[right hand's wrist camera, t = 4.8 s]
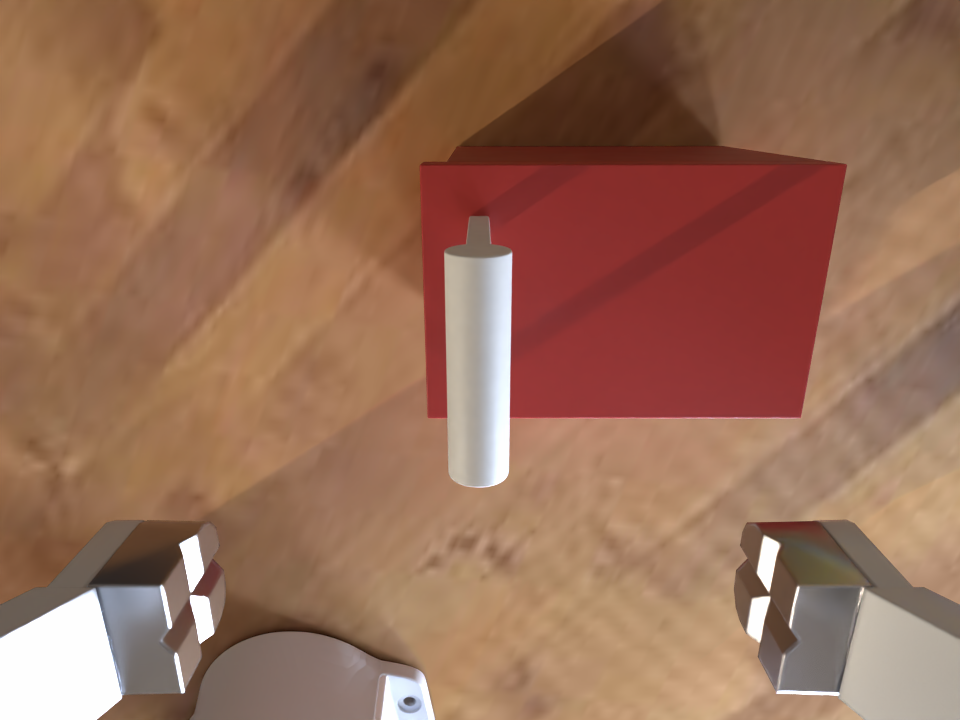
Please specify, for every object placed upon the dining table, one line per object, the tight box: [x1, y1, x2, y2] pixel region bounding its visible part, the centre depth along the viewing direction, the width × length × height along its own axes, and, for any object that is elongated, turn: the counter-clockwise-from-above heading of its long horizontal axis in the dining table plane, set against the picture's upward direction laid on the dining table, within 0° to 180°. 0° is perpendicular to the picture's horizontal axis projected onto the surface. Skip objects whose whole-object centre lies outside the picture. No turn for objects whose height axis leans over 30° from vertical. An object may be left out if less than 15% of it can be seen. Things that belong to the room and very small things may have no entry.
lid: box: [420, 162, 847, 487], centre depth 21 cm, size 15×10×9 cm, turn 90°
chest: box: [447, 146, 826, 162], centre depth 31 cm, size 14×10×11 cm
